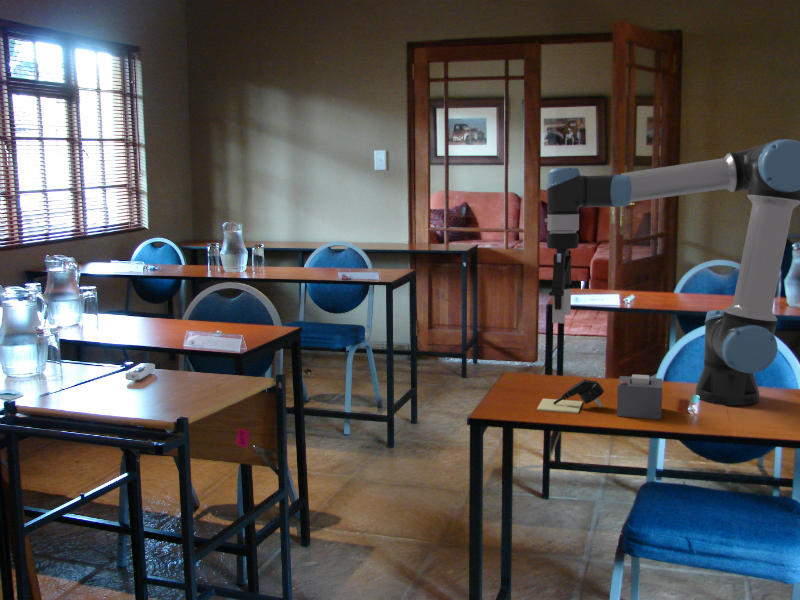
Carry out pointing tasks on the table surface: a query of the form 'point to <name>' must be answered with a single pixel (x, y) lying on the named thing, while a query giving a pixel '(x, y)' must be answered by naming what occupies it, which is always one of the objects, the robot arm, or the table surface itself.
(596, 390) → the power plug
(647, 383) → the button
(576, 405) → the pad
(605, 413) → the table surface
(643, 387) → the switch box
